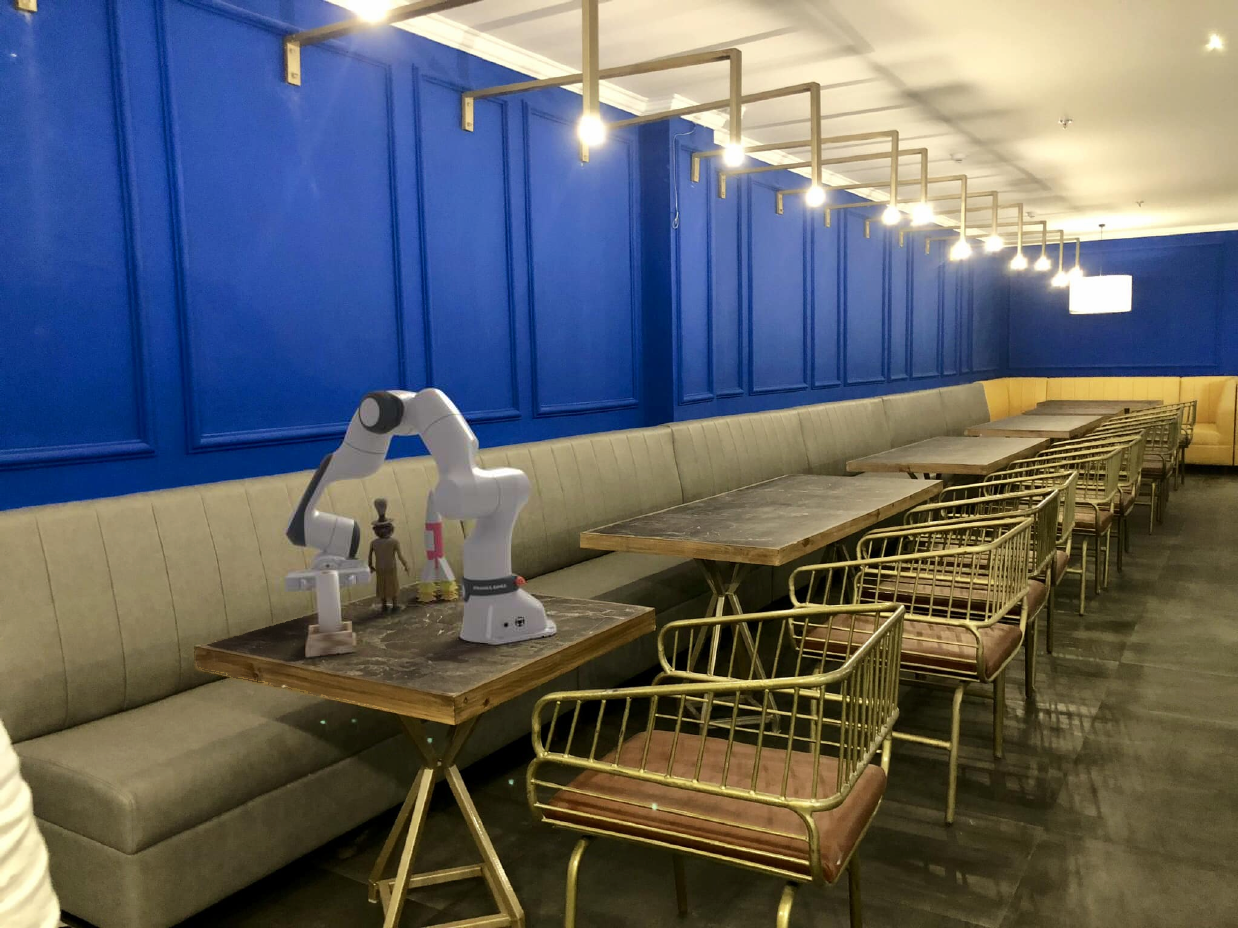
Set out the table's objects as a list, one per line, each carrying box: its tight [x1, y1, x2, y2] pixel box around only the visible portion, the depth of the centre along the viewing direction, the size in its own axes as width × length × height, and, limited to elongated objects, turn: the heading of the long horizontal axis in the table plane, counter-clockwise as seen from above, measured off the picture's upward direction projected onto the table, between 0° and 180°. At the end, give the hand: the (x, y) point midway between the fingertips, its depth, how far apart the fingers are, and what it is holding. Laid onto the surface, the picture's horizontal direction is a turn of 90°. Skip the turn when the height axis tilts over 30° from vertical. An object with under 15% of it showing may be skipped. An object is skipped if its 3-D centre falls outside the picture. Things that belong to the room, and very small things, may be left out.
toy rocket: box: [416, 488, 459, 603], centre depth 271 cm, size 12×12×30 cm
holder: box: [304, 620, 358, 658], centre depth 226 cm, size 11×11×4 cm
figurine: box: [367, 497, 411, 614], centre depth 258 cm, size 11×9×30 cm
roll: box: [315, 570, 343, 634], centre depth 225 cm, size 5×5×16 cm
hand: (328, 584), depth 237 cm, fingers open, 8 cm apart
